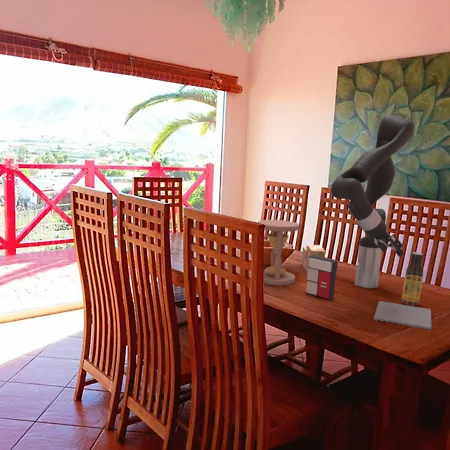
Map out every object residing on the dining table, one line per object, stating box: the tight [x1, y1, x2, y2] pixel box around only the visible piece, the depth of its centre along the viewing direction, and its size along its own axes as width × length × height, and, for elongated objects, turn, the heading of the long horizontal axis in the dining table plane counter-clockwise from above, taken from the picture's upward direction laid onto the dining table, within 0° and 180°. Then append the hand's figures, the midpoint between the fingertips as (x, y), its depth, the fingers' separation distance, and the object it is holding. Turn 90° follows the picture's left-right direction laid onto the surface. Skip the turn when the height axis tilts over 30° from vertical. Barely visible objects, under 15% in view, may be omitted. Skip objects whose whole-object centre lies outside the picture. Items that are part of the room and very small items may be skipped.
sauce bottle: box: [401, 251, 424, 307], centre depth 174 cm, size 7×6×20 cm
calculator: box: [305, 255, 339, 300], centre depth 180 cm, size 11×4×15 cm, turn 47°
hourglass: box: [257, 219, 300, 287], centre depth 199 cm, size 18×18×25 cm
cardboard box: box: [301, 244, 326, 272], centre depth 218 cm, size 21×6×12 cm, turn 0°
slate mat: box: [373, 300, 432, 331], centre depth 163 cm, size 18×20×1 cm
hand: (393, 252), depth 169 cm, fingers open, 8 cm apart
